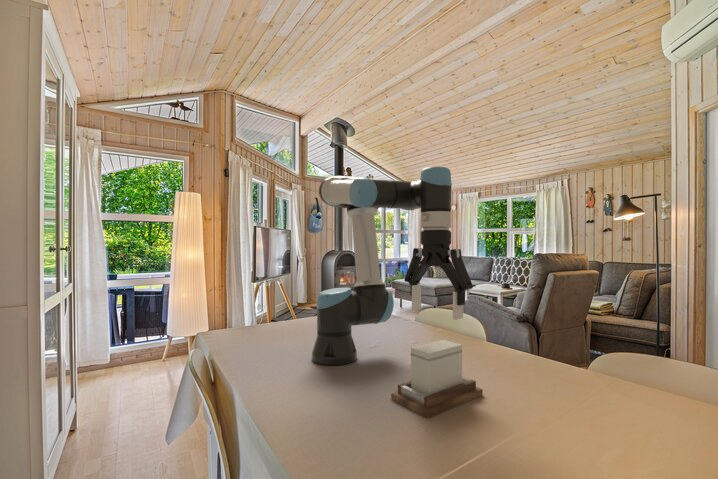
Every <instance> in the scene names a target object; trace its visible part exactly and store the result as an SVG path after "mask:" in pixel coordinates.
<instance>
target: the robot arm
mask: <svg viewBox="0 0 718 479" xmlns="http://www.w3.org/2000/svg"><path fill="white" fill-rule="evenodd" d="M451 173H452V172H451V170H450V169H449V167H445V166H429V167H428V166H427V167H424V168H422V170H421V172H420V177H419V180H415V181H407V180H406V181H405V180H393V179H383V178H382V179H380V178H379V179H378V178H370V177H357V176H346V175H344V176H343V175H334V176H330V177H326V178H325V179H324V180H322V181H321V182H320V185H319V186H318V195H319V198H320V201H322V202H323V203H324V204H325V205H328V206H331V207H333V208H339V209H340V208H341V209H346V214H347V216H349V217H350V219H351V224H352V225H351V226H352V238H353V251H354V252H353V254H354V262H355V275H356V276H355V277H356V282H355V283H354V285H353V286H352V287H353V288H352V289H353V291H352V289H351V287H335V288H328V289H326V290H325V289H324V290H323V291H320V292H319V293H318V295H317V297H316V298H317V299H316V330H317V332H316V339H315V341H314V344H313V349H312V352H311V359H312V362H314V363H316V364H318V365H324V366H341V365H347V364H352V363H353V362H355V361H356V360H357V356H358V354H357V353H358V352H357V348H356V345H355V342H354V339H353V335H352V327H353V326H362V325H373V324H374V325H377V324H379V323H380V324H381V323H385V322H387V321H388V320H390V318H391V316H392V315H393V311H394V303H395V302H394V296H393V294H392V291H391V289H387V288H386V283H385V282H384V281H383V280H381V270H380V269H381V268H380V261H379V260H380V259H379V249H378V239H377V238H378V237H377V229H376V228H377V227H376V218H375V216H377V214H378V212H379V209H382V208H383V209H385V208H386V209H400V210H402V211H403V210H404V211H414V210H417V209H420V228H421V229H422V230H421V231H420V244H421V245H422V247H413V250H412V257H411V259H410V263H409V265H408V268H407V271H406V274H405V276H404V282H405V283H408V284H409V285H410V286H409V288H410V291H409V292H410V293H409V294H410V297H411V311H417V310H422V284H421V280H422V279H423V278H424V276H425V274H426V272H427V271H428V269H430V268H431V267H436V268H439V267H440V269H441V270H442V271H443V272H444V274H445V275H446V277H447V278H448V281H450V284H452V286H453V288H454V291H452V320H461V319H463V318H464V317H463V315H464V311H463V310H464V306H465V305H466V292H467V291H468V290H471V289H473V287H474V285H473V283H472V280H471V278H470V276H469V275H470V274H469V273H468V270H467V267H466V266H465V263H464V261H463V257H462V250H461V249H460V248H453V249H451V248H450V246H451V244H452V231H451V230H450V229H451V228H452V186H453V183H452V174H451Z"/></svg>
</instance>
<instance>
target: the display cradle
mask: <svg viewBox="0 0 718 479" xmlns="http://www.w3.org/2000/svg"><path fill="white" fill-rule="evenodd" d="M390 394H391V397H390V399H391V401H394V402H396V403H397V404H400V406H403V407H405V408H406V409H410V411H413V412H414V413H417V414H419V415H420V416H422V417H424V418H426V419H428V418H432V417H433V416H436V415H438V414H441V413H444V412H446V411H449V410H450V409H452V408H455V407H458V406H461V405H462V404H463V405H464V404H465V403H468V402H470V401H472V400H474V399H477V398H480V397H482V396H483V394H484V393H483V388H481V387H478V386H477V381H476V380H475V379H470V378H468V377H465V376H463V375H462V384H459V385H456V386H453V387H451V388H448V389H445V390H442V391H440V392H437V393H434V394H431V395H429V396H427V395H425V394H423V393H420V392H418V391H416V390H414V389H412V388H411V380H409V381H406V382H403V383H400V384H397V391H394V392H391V393H390Z"/></svg>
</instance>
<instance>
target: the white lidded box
mask: <svg viewBox="0 0 718 479" xmlns="http://www.w3.org/2000/svg"><path fill="white" fill-rule="evenodd" d="M462 376H463V344H460V343H456V342H454V341H449V340H445V339H440V340H437V341H433V342H428V343H424V344H420V345H416V346H413V347H410V381H411V388H412V389H414V390H416V391H418V392H420V393H423V394H425V395H427V396H429V395H431V394H434V393H437V392H440V391H442V390H445V389H448V388H451V387H453V386H456V385H459V384H462Z"/></svg>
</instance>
